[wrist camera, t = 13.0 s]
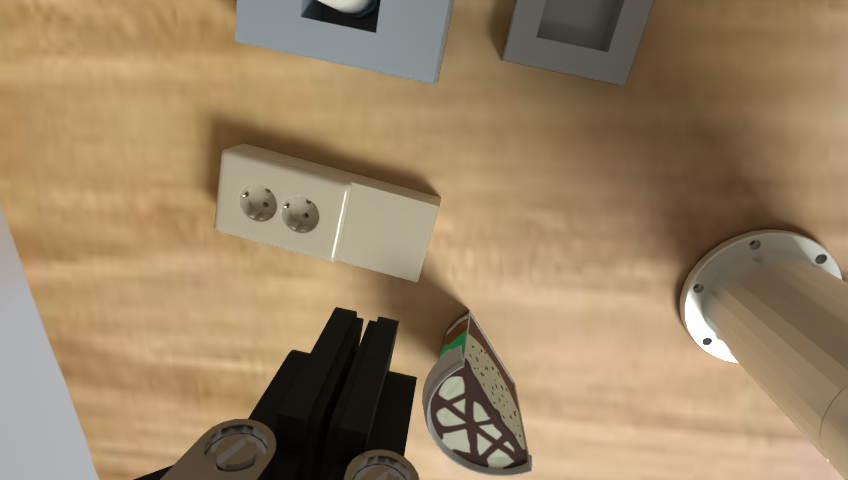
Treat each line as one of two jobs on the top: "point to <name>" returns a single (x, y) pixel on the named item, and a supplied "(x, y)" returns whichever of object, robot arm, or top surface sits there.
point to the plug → (354, 7)
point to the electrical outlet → (323, 211)
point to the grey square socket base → (577, 36)
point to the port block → (352, 34)
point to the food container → (475, 404)
